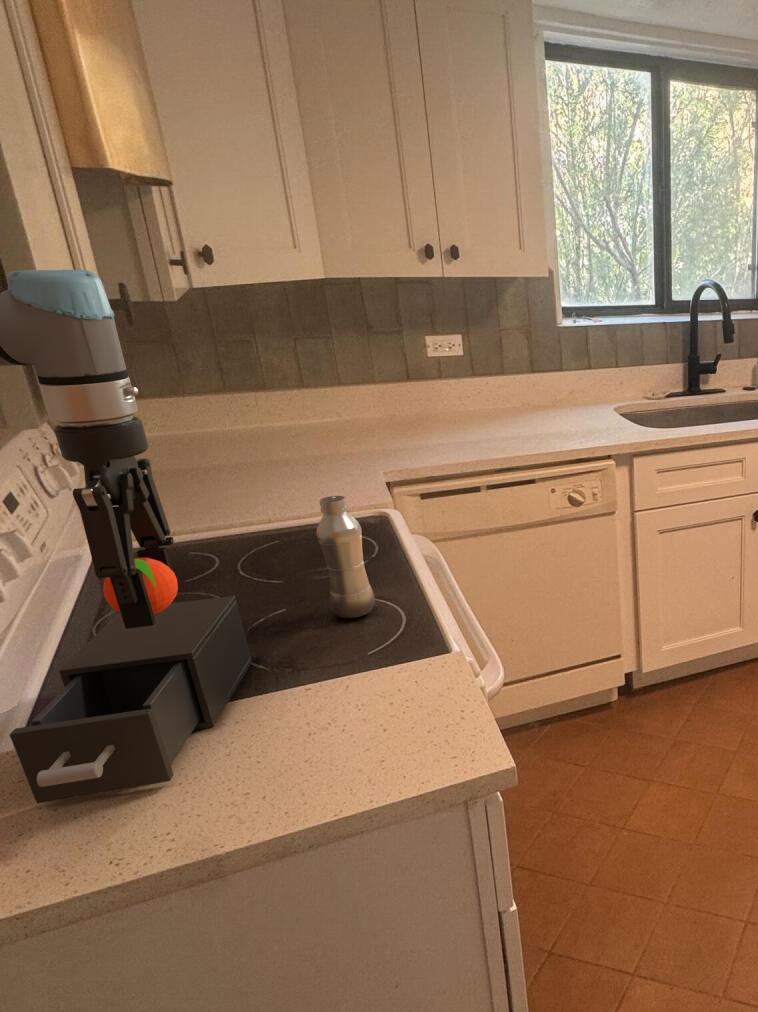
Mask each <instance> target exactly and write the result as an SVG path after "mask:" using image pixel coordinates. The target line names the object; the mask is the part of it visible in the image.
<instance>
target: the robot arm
mask: <svg viewBox="0 0 758 1012" xmlns="http://www.w3.org/2000/svg"><path fill="white" fill-rule="evenodd" d="M6 282H7V289H6V290H0V367H3V366H4V367H5V366H6V367H7V366H33V369H34V372H35V375H36V377H37V380H38V384H39V388H40V391H41V395H42V397H43V401H44V405H45V408H46V411H47V415H48V418H49V420H50V421H52V422H54V423H57V425H56V426H55V428H54V429H53V431H54V435H55V438H56V441H57V444H58V447H59V451H60V454H61V457H62V458H63V459H64V460H66V461H68V462H72V463H79V464H80V465H82V466H83V473H84V483H85V484H84V485H85V487H79V488H73V489H72V497H73V499H74V501H75V503H76V506H77V507H78V509H79V512H80V513H79V514H80V516H81V517H80V518H81V521H82V525H83V529H84V532H85V537H86V540H87V544H88V549H89V554H90V557H91V561H92V565H93V569H94V573H95V576H96V577H97V578H98V579H105V578H107V577H110V580H111V583H112V586H113V589H114V592H115V596H116V599H117V602H118V605H119V609H120V612H121V615H122V618H123V622H124V625H125V628H126V629H128V628H137V627H145V626H153V625H155V623H156V621H155V617H154V614H153V610H152V607H151V603H150V600H149V597H148V593H147V590H146V586H145V583H144V580H143V576H142V573H141V571H136V568H135V561H134V558H135V552H134V545H133V537H134V539H135V541H136V542H137V544H138V546H139V548H142V549H138V550H137V551H136V554H137V558H150V559H154V560H157V561H160V562H162V563H163V564H165V565H167V566H168V567H169V568H170V569H171V570H172V571H173V569H172V566H171V562H170V558H169V555H168V551H167V548H166V546H173V545H174V542H175V541H174V536H170V535H171V529H170V526H169V522H168V519H167V517H166V513H165V511H164V508H163V505H162V502H161V498H160V496H159V492H158V490H157V489H158V488H157V486H156V484H155V480H154V477H153V471H152V466H151V461H150V459H149V458H147V457H146V458H136V456H138V455H141V454H143V453H145V452H146V451H147V450H148V449H149V442H148V439H147V435H146V431H145V427H144V424H143V421H142V419H140V418H139V417H137V416H134V415H136V414H137V413H138V412H139V408H138V405H137V401H136V396H137V395H138V394H139V389H138V388H137V387H136V386H132V382H131V379H130V376H129V372H128V368H127V366H126V361H125V357H124V354H123V351H122V347H121V342H120V338H119V334H118V330H117V325H116V321H115V317H116V316H115V312H114V310H113V309H112V308H111V307H112V306H111V304H110V301H109V299H108V296H107V293H106V290H105V287H104V284H103V282H102V280H101V278H100V277H99V276H98V275H97V274H96V273H95V272H93V271H90V270H87V269H28V270H27V269H25V270H23V269H22V270H13V271H10V272H8V273H7V276H6ZM132 534H133V537H132ZM179 597H180V593H179V590H178V591H177V594H176V597H175V599H174V600H177V599H178V598H179Z"/></svg>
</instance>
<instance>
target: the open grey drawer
mask: <svg viewBox="0 0 758 1012" xmlns="http://www.w3.org/2000/svg"><path fill="white" fill-rule="evenodd" d="M202 715H203V714H202V710H201V707H200V704H199V700H198V697H197V693H196V690H195V687H194V683H193V680H192V676H191V673H190V670H189V666H188V663H187V659H186V660H178V661H171V662H163V663H156V664H149V665H141V666H134V667H126V668H119V669H111V670H104V671H96V672H89V673H81V674H78V675H77V676H76V677H75V678H74V679H73V680H72V681H71V682H70V683H69V684H68V685H67V686H66V687H63V688H62V689H61V691H60V692H59V693H58V694H56V696H55V697H54V698H53V699H52V700H51V701H50V702H49V703H48V704H47V705H46V706H45V707H44V708H43V709H42V710H41V711H40V712H39V713H38V714H37V715H36V716H35V717H34V718H33V719H32V720H31V721H30V723H31V725H29V726H22V727H16V728H14V729H13V730H12V731H11V732H10V733H9V738H10V740H11V742H12V745H13V747H14V750H15V753H16V755H17V757H18V760H19V763H20V766H21V767H22V770H23V772H24V775H25V777H26V780H27V782H28V786H29V788H30V791H31V792H32V795H33V797H34V800H35V802H36V803H35V804H43V803H48V802H49V803H50V802H56V801H61V800H66V799H73V798H78V797H83V796H84V797H85V796H91V795H97V794H102V793H107V792H113V791H120V790H124V789H125V790H126V789H132V788H137V787H143V786H149V785H154V784H155V785H156V784H161V783H166V782H170V781H171V780H172V779H173V777H174V772H173V768H172V765H173V763H174V761H175V760H176V759H177V757H178V755H179V754H180V752H181V751H182V748H183V747H184V745H186V743H187V741H188V739H189V738H190V736H191V735H192V733H193V731H195V730H194V728H195V727H196V725H197V723H198V722H199V720H200V719H201V717H202Z"/></svg>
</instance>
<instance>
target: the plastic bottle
mask: <svg viewBox="0 0 758 1012" xmlns="http://www.w3.org/2000/svg"><path fill="white" fill-rule="evenodd" d="M319 506H320V513H321V514H323V515H322V517H321V519H320V521H319V523H318V525H317V527H316V532H315V534H316V538H317V540H318V544H319V546H320V548H321V551H322V554H323V557H324V560H325V564H326V565H327V566H326V567H327V571H328V578H329V587H330V588H329V589H330V594H329V600H330V606H331V608H332V611H333V613H334V614H335V615H336V616H337V617H339V618H342V619H355V618H358V617H363V616H366V615H368V614H369V613H371V612H372V611H373V610H374V607H375V604H376V603H375V599H376V597H375V596H376V595H375V594H374V590H373V588H372V586H371V584H370V581H369V577H368V574H367V571H366V567H365V561H364V552H363V535H362V534H363V533H362V532H363V531H362V526H361V525H360V522H359V521H358V520H357V519H356V518H355V517H353V516H352V515H351V514H350V513H349V512H348V511H347V510H349V507H348V504H347V501H346V498H345V496H344V495H330V496H325V497H322V498H320V499H319Z"/></svg>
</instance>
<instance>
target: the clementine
mask: <svg viewBox="0 0 758 1012" xmlns="http://www.w3.org/2000/svg"><path fill="white" fill-rule="evenodd" d="M134 561H135V568H136V571H141V573H142V576H143V580H144V583H145V586H146V590H147V593H148V597H149V600H150V603H151V607H152V610H153V614H157V613H159V612H161V611H163V610H164V609H166V608H167V607H168V606H169V605H170V604H171V603H174V602H173V601H174V600H176V599H175V597H176V594H177V591H178V592H179V586H178V585H179V584H178V578H177V576H176V573H175V572H174V571H173V569H172V568H171V569H172V570H171V569H170V568H169V567H168V566H167V565H165V564H163V563H162V562H160V561H157V560H154V559H150V558H138V557H134ZM102 591H103V592H102V593H103V596H104V599H105V601H106V602H107V604H108V605H109V606H110V607H111V608H112V609H113V610H114V611H115V612H117V613H119V612H120V609H119V605H118V602H117V599H116V596H115V592H114V589H113V586H112V583H111V580H110V577H107V578H104V582H103V587H102ZM120 613H121V612H120Z"/></svg>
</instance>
